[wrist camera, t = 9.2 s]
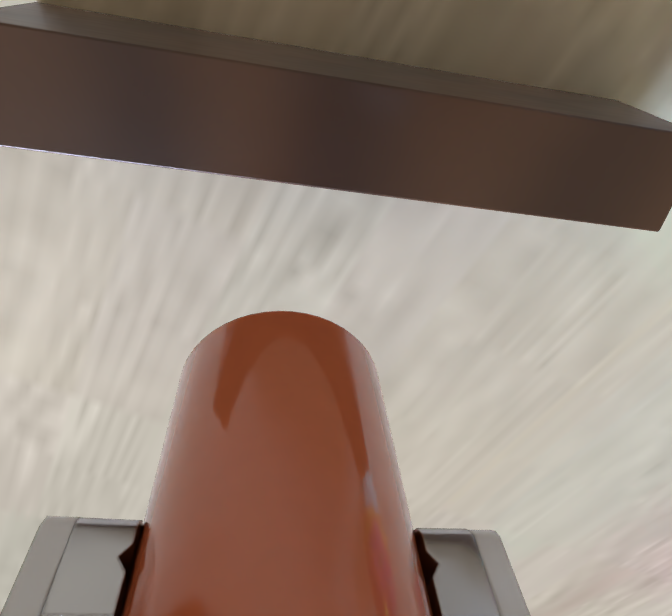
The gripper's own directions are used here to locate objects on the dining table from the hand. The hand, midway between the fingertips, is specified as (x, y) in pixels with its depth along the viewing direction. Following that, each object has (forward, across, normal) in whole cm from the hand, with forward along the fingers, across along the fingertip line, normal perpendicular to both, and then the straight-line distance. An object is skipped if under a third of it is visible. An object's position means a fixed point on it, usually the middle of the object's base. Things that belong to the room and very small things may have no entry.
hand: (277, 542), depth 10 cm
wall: (+14, -2, -5) cm, 15 cm away
